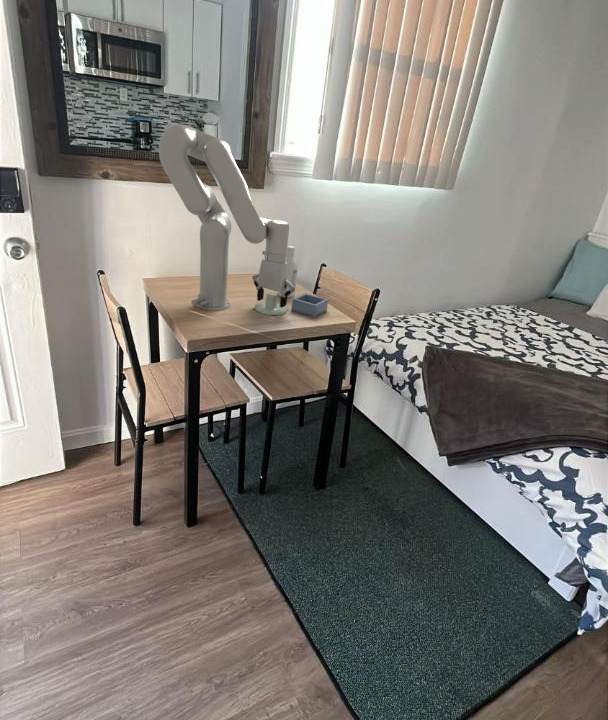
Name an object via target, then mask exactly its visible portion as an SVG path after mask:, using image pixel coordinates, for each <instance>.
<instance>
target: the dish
mask: <svg viewBox="0 0 608 720" xmlns="http://www.w3.org/2000/svg"><path fill="white" fill-rule="evenodd" d="M328 303H329V299H328V298H325V297H321V296H318V295H315V294H314V295H312V294H310V293H305V292H304V293H303V294H301V295H298V296H295V297H292V302H291V311H292V312H295V313H299V314H302V315H305V316H309V317H312V318H317V317H318V316H320V315H322V314H324V313H326V312H327V310H328Z"/></svg>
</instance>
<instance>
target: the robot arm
mask: <svg viewBox="0 0 608 720" xmlns="http://www.w3.org/2000/svg"><path fill="white" fill-rule="evenodd" d="M158 155H159V161H160V163H161V166H162V169H163V170H164V172H165V174H166V175H167V177H168V179H169V181H170V182H171V184H172V185H173V187H174V189H175V191H176V192H177V195H178V196H179V197H180V199H181V201H182V204H183V205H184V206H185V208H186V209H187V211H188V212H189V213H190V214H191V215H194V216H197V217H198V219H199V221H200V222H201V225H200V227H199V228H200V229H199V247H200V256H199V257H200V258H199V259H200V261H199V262H200V263H199V265H200V266H199V269H200V270H199V293H198V294H197V295H198V296H197V298H195V299H193V300H191V302H190V303H191V305H192V306H196V307H197V308H200V309H202V310H206V311H224V310H227V309H229V308H230V307H231V302H230V301H229V300H228V299H227V296H228V295H227V292H228V270H229V247H230V246H229V244H230V241H229V240H230V235H231V232H232V222H231V219H230V217H229V215H228V214H227V212H226V210H225V208H224V207H223V205H222V203H221V202H220V199H219V197H218V196H217V194H216V193H215V191H214V190H213V189H212V188H211V186H209V185H208V184H206V183H203V182H202V180H201V178H200V177H199V176H198V173H197V171H196V170H195V168H194V166H193V164H192V163H191V162H190V160H189V156H190V157H193V158H195V159H196V160H197V159H198V160H199V161H202V162H204V163H205V164H206V166H207V168H208V170H209V172H210V173H211V175H212V176H213V178H214V180H215V182H216V184H217V186H218V188H219V190H220V192H221V193H222V195H223V198H224V201H225V202H226V204H227V206H228V209H229V210H230V212H231V214H232V217H233V219H234V221H235V223H236V225H237V226H238V228H239V230H240V232H241V234H242V235H243V237H244V239H245V240H246V242H248V243H250V244H252V245H256V244H260V243H262V242H263V241H264V240H265V249H264V250H263V251H262V254H261V255H264V257H263V258H262V259H261V262H260V267H259V271H258V274H255V275H253V276H251V277H252V281H253V284H254V286H255V289H256V290H257V293H256V298H257V299H256V301H258V302H259V301H260V302H261V301H262V300H263V299H264V296H265V289H267V290H271V291H274V292H278V291H280V293H281V295H282V296H280V299H279V300H280V301H279V302H280V303H279V304H280V307H281V308H282V307H284V306H285V307H287V306H286V305H287V301H288V297H287V296H288V295H290V294H291V293H292V291H293V290H294V289H295V290H296V286H294V285H293V284H291V283H290V282H289V281H288V265H287V262H286V255H287V247H288V246H289V245H288V243H289V235H290V234H289V233H290V224H289V223H288V222H287V221H285V220H280V219H269V218H268V219H267V218H264V217H260V216H259V214H258V212H257V210H256V207H255V206H254V204H253V201H252V198H251V195H250V190H249V186H248V184H247V182H246V179H245V178H244V176H243V174H242V173H241V170H240V168H239V167H238V165H237V163H236V161H235V157H234V156H233V154H232V149H231V146H230V145H229V143H228V142H227V141H225V140H223V139H222V138H218V137H216V136H213V135H210V134H209V133H206V132H204V131H202V130H200V129H197V128H194V127H193V126H190V125H186V124H181V123H176V124H175V123H174V124H171V125H170V126H169V127H167V128H166V129H165V131H164V132H163V134H162V136H161V138H160V140H159V145H158ZM287 286H288V287H289V290H288V291H287V289H286V288H287Z"/></svg>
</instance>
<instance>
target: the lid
mask: <svg viewBox="0 0 608 720" xmlns="http://www.w3.org/2000/svg"><path fill="white" fill-rule="evenodd" d="M278 296H279V295H278V293H273V292H268V293H267V294H266V296H265V301H262V302H261V301H260V302H257V303H255V304H254V307H253V309H255V310H256V311H255V310H254V311H255V312H257V313H258V314H263V315H266V316H271V315H278V316H282V315H283V316H284V315H286V313H287V309H288V307H287V306H284V307H282V308H281V307H280V303H278Z"/></svg>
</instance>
